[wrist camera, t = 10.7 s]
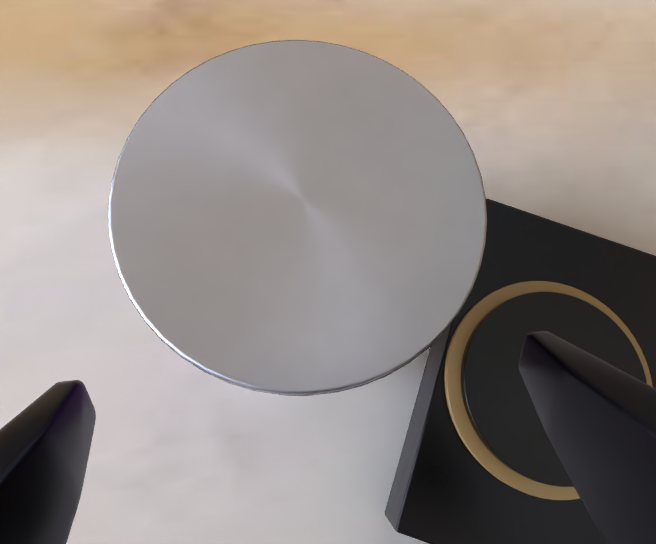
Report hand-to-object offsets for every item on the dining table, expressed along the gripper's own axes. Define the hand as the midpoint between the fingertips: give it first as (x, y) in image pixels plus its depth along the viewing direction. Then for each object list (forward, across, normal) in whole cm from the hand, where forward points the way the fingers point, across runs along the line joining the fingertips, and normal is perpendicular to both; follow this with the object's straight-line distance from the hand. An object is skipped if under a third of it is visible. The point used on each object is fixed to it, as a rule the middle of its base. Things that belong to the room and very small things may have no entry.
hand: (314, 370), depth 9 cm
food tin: (+9, 0, +5) cm, 10 cm away
